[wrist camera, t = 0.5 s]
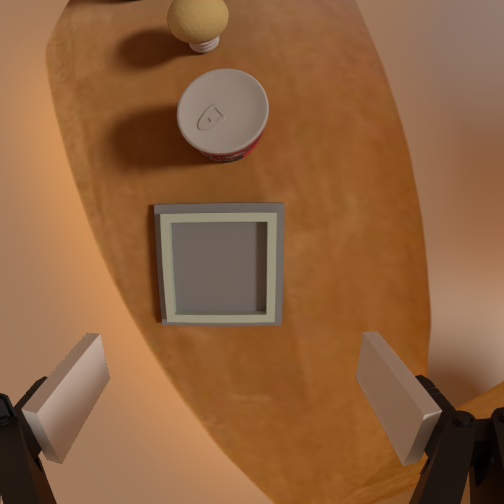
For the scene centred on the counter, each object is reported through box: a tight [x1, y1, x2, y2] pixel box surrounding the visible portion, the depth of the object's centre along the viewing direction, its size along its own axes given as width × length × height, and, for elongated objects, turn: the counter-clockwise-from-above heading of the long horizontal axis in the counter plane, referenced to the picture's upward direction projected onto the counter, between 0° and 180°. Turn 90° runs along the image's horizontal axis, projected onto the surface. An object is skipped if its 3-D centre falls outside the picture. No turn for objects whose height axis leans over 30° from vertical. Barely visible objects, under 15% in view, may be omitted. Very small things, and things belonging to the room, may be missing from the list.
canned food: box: [177, 69, 269, 163], centre depth 30 cm, size 8×8×11 cm
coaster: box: [154, 203, 284, 326], centre depth 38 cm, size 15×15×2 cm
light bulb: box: [167, 0, 229, 53], centre depth 28 cm, size 6×6×10 cm
